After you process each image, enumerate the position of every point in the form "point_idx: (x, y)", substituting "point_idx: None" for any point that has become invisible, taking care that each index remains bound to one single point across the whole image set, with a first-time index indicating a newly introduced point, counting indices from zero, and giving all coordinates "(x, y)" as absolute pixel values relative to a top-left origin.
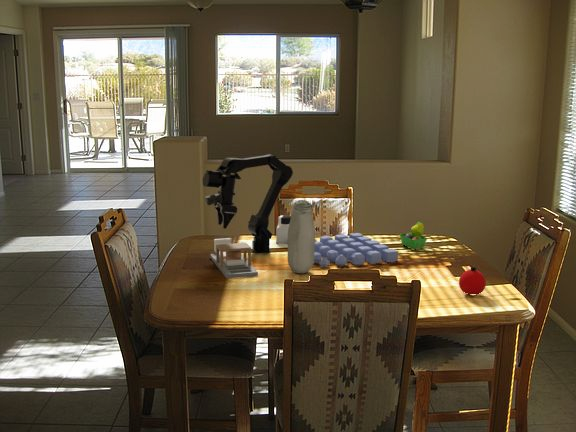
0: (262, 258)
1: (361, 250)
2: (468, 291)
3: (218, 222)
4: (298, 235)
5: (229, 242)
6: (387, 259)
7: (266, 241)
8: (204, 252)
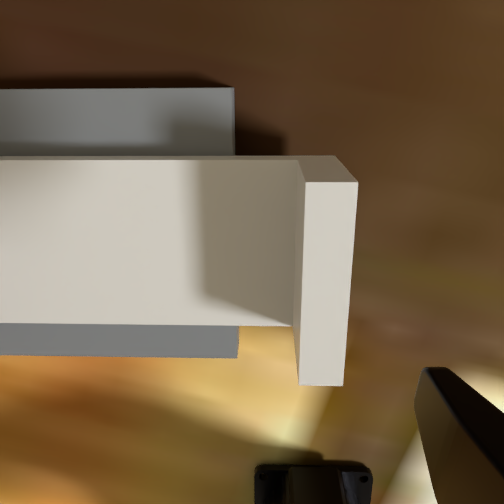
0: (124, 466)
1: None
2: None
3: (441, 394)
4: None
5: (296, 340)
6: None
7: None
8: (461, 67)
